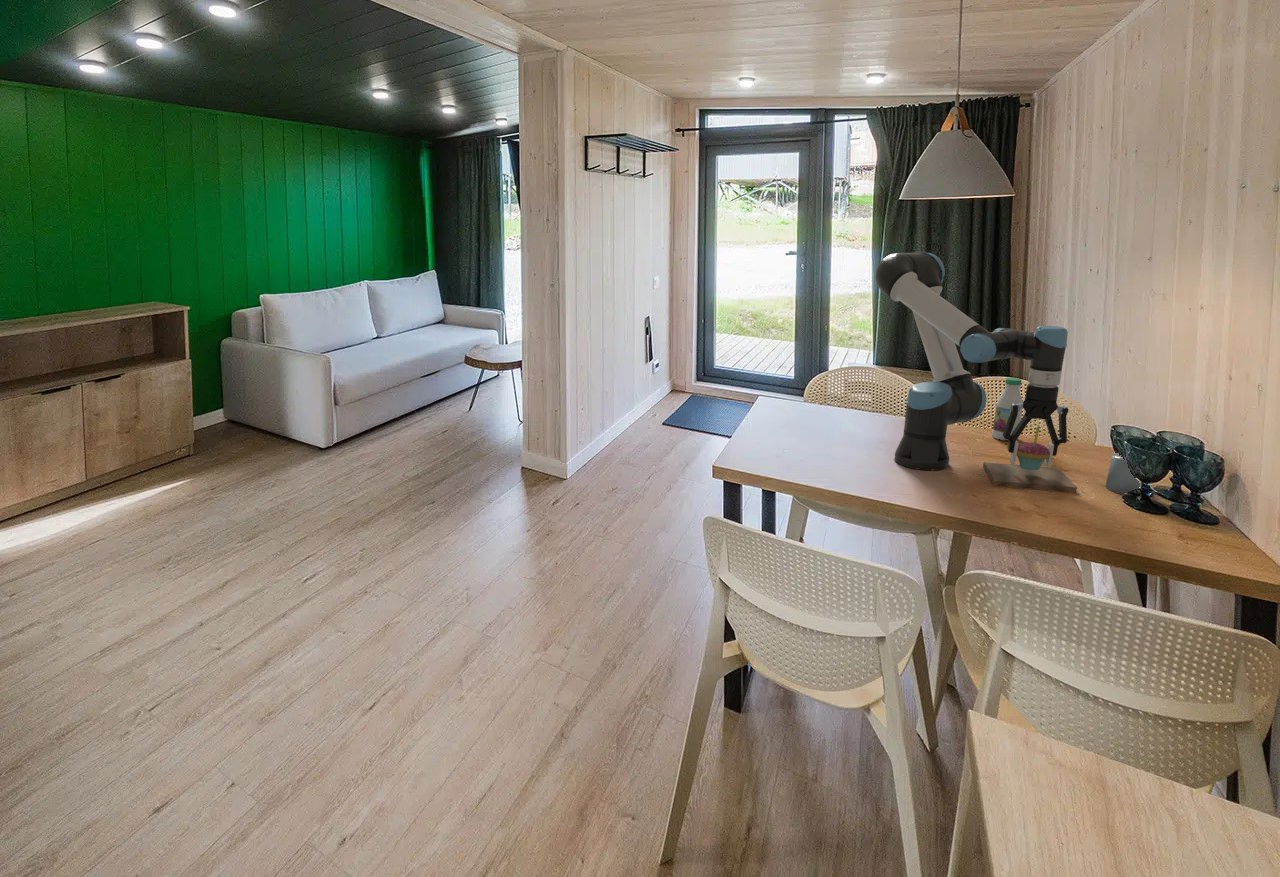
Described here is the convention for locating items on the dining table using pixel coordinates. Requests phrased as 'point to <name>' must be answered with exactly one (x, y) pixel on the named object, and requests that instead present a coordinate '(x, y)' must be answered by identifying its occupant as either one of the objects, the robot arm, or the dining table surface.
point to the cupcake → (1032, 454)
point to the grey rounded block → (1120, 476)
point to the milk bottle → (1007, 407)
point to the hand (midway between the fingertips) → (1029, 464)
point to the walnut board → (1028, 477)
